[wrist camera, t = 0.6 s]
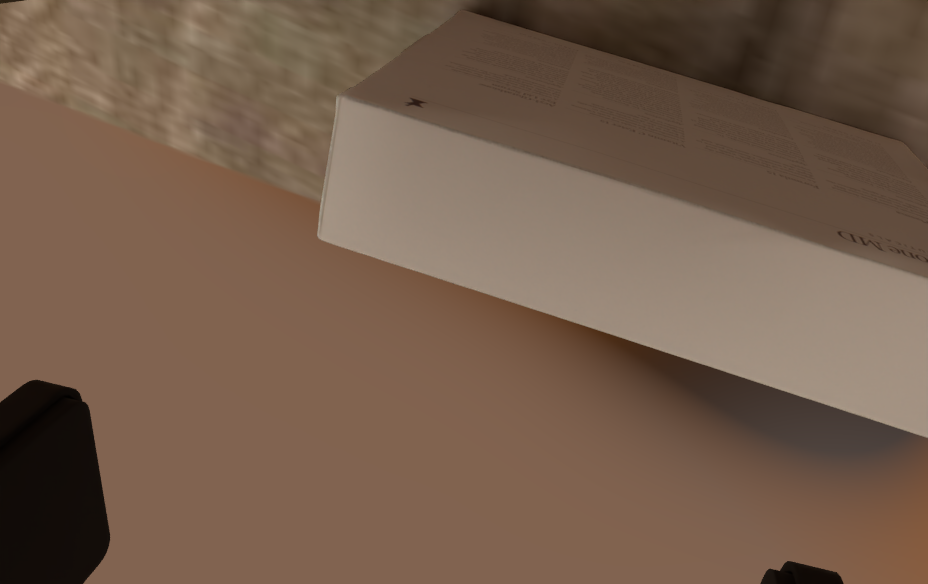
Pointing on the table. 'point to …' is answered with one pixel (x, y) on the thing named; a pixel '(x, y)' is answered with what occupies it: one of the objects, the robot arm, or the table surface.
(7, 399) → the robot arm
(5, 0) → the canister
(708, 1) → the table surface
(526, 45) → the skincare box
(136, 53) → the table surface
